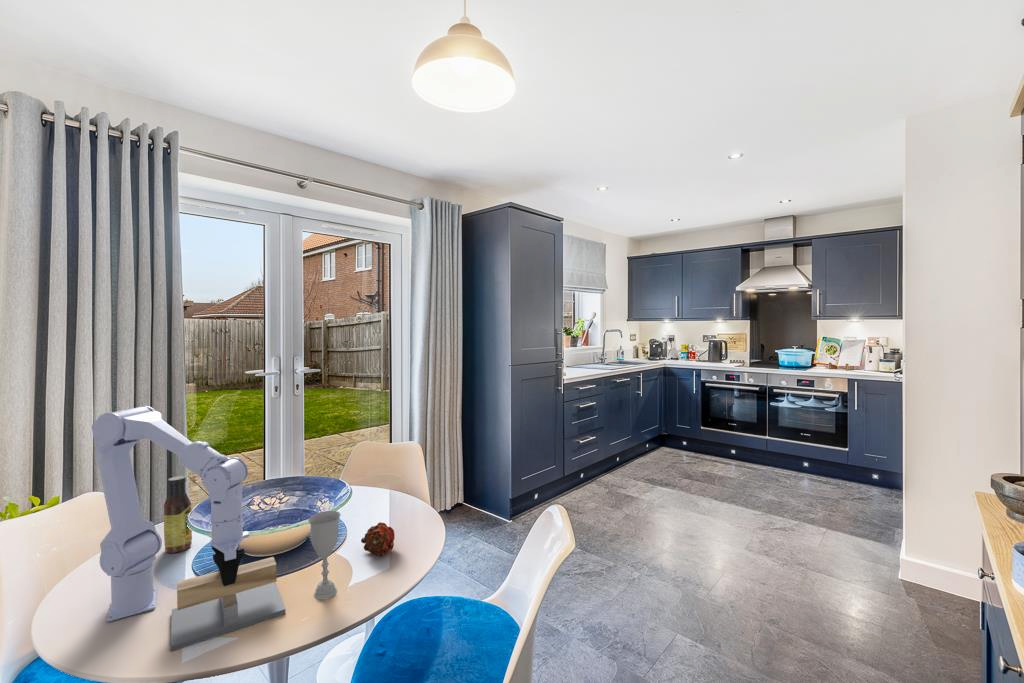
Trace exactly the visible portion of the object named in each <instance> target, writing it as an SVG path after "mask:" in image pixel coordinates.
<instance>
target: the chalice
mask: <svg viewBox="0 0 1024 683" xmlns="http://www.w3.org/2000/svg"><path fill="white" fill-rule="evenodd" d="M340 517H341V512H340V511H336V510H325V511H320V512H317V513H315V514H312V515H311V516H309V518H307V519H308V520H307V521H308V523H309V524H310V543H311V546H312V548H313V550H314V552H315V553H316V555H317V556H318V557H319V558H321V559H322V563H321V567H322V572H321V576H322V580H321V581H320V582H319V583H318V584H317V586H316V588H315V591H314V593H313V597H314V599H316V600H327V599H330V598H332V597H333V596H335V595H336V594H337V592H338V589H337V588H336V585H335V584H334V582H333V581H332V580H330V579H329V578H328V574H329V573H330V570H329V569H328V566H329V562H328V558H329V556H331V555H332V553H333V551H334V549H335V546H336V545H337V542H338V539H339V519H341V518H340Z"/></svg>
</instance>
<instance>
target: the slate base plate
mask: <svg viewBox="0 0 1024 683" xmlns="http://www.w3.org/2000/svg"><path fill="white" fill-rule="evenodd" d="M236 598H237V603H238V623H237V624H233V625H230V626H227V627H224V621H223V613H222V606H221V599H220V598H218V599H215V600H212V601H208V602H205V603H201V604H198V605H194V606H191V607H188V608H184V609H181V610H177V607H176V608H172V609H171V624H170V626H171V627H170V628H171V630H170V652H173V651H176V650H179V649H182V648H186V647H188V645H189V646H191V645H190V644H192V645H194V643H195V644H198V643H200V642H203V641H206V640H209V639H213V638H215V637H218V636H221V635H225V634H227V633H230V632H231V633H232V632H233V631H237V630H240V629H242V628H246V627H248V626H251V625H255V624H259V623H261V622H264V621H267V620H270V619H273V618H276V617H280V616H282V615H284V614H285V615H286V607H285V604H284V601H283V599H282V596H281V594H280V591H279V588H278V585H277V582H274V583H270V584H267V585H263V586H260V587H256V588H253V589H249V590H246V591H243V592H239V593H236ZM197 642H198V643H197ZM185 646H186V647H185Z"/></svg>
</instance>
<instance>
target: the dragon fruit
mask: <svg viewBox="0 0 1024 683" xmlns="http://www.w3.org/2000/svg"><path fill="white" fill-rule="evenodd" d="M394 541H395V531H394V529H393V527H391V526H388V525H387V524H386V523H385V522H378V523H377V524H376V525H374V526H373V525H371V527H369V529H367V531H366V532H365V534H364V537H362V538H361V540H360V542H361V543H362V544H364V546H363V549H364V551H365V552H369V553H370V554H372V555H375V556H377V557H378V556H379V557H381V556H384V555H385V554H387V552H389V551H392V550H393V548H394V547H395V544H394Z"/></svg>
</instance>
